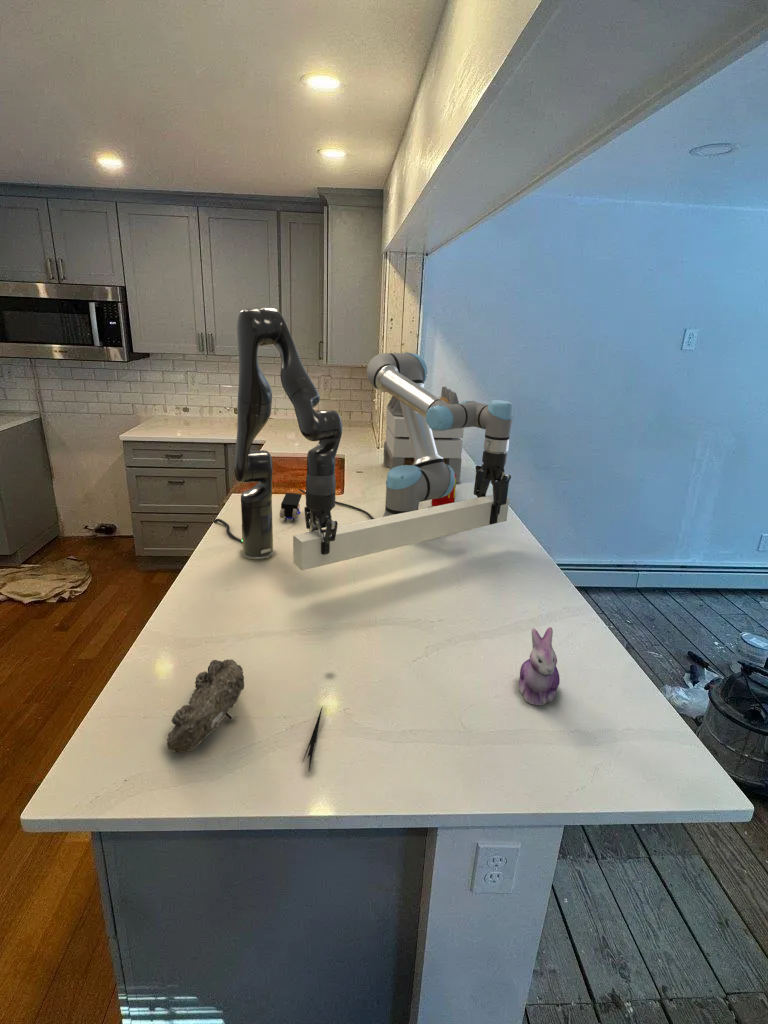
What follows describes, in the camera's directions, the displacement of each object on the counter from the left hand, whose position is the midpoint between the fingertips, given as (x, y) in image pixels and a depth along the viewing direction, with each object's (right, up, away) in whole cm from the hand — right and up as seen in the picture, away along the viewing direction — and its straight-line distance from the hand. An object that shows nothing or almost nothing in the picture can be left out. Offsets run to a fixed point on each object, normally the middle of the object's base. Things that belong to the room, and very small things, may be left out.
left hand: (320, 549), depth 150 cm
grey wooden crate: (+34, +29, +125) cm, 132 cm away
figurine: (+49, -28, -31) cm, 65 cm away
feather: (+5, -30, -42) cm, 51 cm away
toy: (+40, +17, +91) cm, 101 cm away
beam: (+25, +2, +18) cm, 31 cm away
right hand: (+51, +7, +35) cm, 62 cm away
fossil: (-16, -29, -42) cm, 54 cm away
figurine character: (-17, +8, +60) cm, 63 cm away
